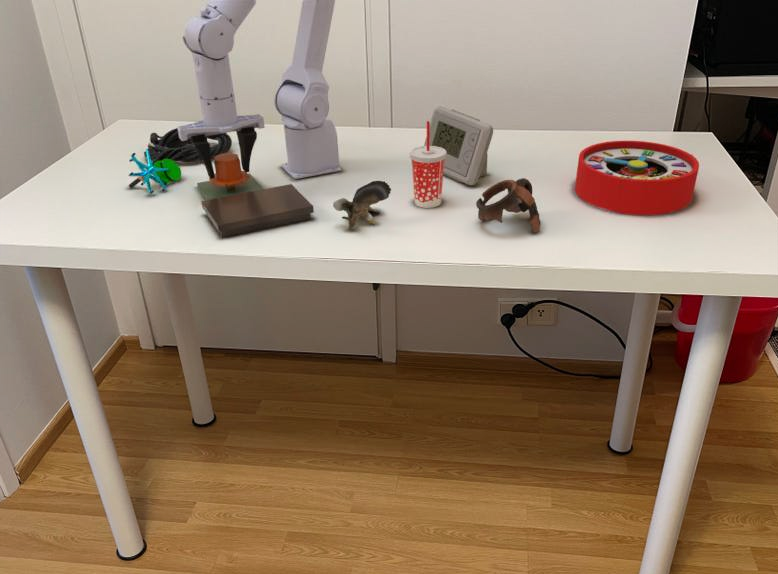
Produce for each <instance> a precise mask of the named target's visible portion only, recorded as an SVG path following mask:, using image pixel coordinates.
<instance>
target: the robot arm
mask: <svg viewBox="0 0 778 574" xmlns="http://www.w3.org/2000/svg"><path fill="white" fill-rule="evenodd" d="M335 3H336V0H302V2H301V8H300V14H299V20H298V25H297V30H296V31H297V32H296V38H295V43H294V49H293V54H292V55H293V56H292V61H291V64H290V66H289V67H288V68H286V69H285V71H284V72H283V73H282V75H281V81H280V83H279V84H278V87H277V88H276V90H275V92H274V95H273V104H274V108H275V110H276V112H277V113H278V114H279V115H281V117H282V118H281V120H282V122H283V130H284V139H285V140H284V141H285V148H286V159H287V162H285V163H282V164H281V168H282V169H283V170H284V171H286V173H287V174H288V175H289V176H290V177H292V178H293V179H294V180H299V179H304V178H308V177H314V176H319V175H326V174H331V173H336V172H340V171H342V168H341V167H340V155H339V154H340V153H339V141H338V138H339V137H338V133H337V129H336V125H335V124H334V122H333V121H332V120H331V119H327V117H328V115H329V112H330V102H329V90H330V86H329V84H328V82H327V80H326V78H325V76H324V74H323V68H324V63H325V57H326V52H327V47H328V41H329V37H330V30H331V26H332V19H333V14H334V9H335ZM256 4H257V0H209V1H208V2H207V4H206V5H205V6H204V5H203V6H202V7H201V8H200V10H199V12H200V15H197V16H194V17H192V18H191V19H189V21H188V22H187V23H186V26H185V29H184V30H185V31H184V35H183V36H182V41H183V44H184V46H185V47H186V48H187V49H188V50H189V51H190V52H191V55H192V60H193V61H192V62H193V66H194V74H195V79H196V84H197V85H196V86H197V90H198V97H199V102H200V109H201V115H202V120H199V121H196V122H191V123H188V124H185V125H179V126H177V127H176V128H178V134H179V138H180V139H181V141H185V140H188V139H190V140H191V142H192V143H193V144H192V146H195V148H196V149H197V151H198V153H199V154H200V156H201V158H202V160H201V161H202V162H203V164H204V168H205V170H206V173H207V176H208V177H210V178H211V179H213V178H215V176H214V174H215V171H214V170H215V169H214V166H213V161H212V157H211V153H210V147H211V143H210V142H209V141H208V138H206V137H205V136H209V135H215V134H221V133H227V134H229V133H232V132H233V133H234V132H235V133H236V136H237V137H236V138H237V140H238V146H239V150H240V151H239V152H240V165H241V170H242V171H245V172H247V173H250V167H251V166H250V165H251V158H252V153H253V149H254V145H255V144H256V141H257V138H258V133H257V131H256V129H259V130H261V129H265V127H266V126H265V120H264V116H263V115H262V114H260V113H259V114H258V113H257V114H248V115H244V114H243V115H238V114H237V113H238V111H237V104H236V97H235V92H234V84H233V78H232V70H231V64H230V57H229V53H231V52H232V51H233V48H234V44H235V34H236V33H237V31H238V30H239V27H241V25H242V24H243V22H244V21H245V20H246V18H247V17H248V15H249V14H250V13H251V12H252V10H253V8H254V7H255V6H256Z"/></svg>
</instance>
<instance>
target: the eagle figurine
mask: <svg viewBox="0 0 778 574" xmlns="http://www.w3.org/2000/svg"><path fill="white" fill-rule="evenodd" d="M391 191H392V188H391V187H390V185H389V184H388V182H386V181H383V180H372V181H370V182H369V183H367V184H364V185H363V186H361V187H359V188H357V189H356V191H355V192H354V193H355V194H354V195H353V197H352V201H349V200H348V199H347V198H345V197H342V198H339V199H337V200H334V202H333V204H332V206H333V208H334V209H335V210H336V211H338V212H342V211H343V212H346V214H347V216H341V219H343V220H347V221H348V231H351V230H352V229H353V227H355V226H356V224H357V223H356V222H357V219H359V218H361V219H363V220H367V221H368V222H370V223H372V225H374V226H375V225H376V222H375V218H374V217H373V216H372V214H371V213H370V212H375V213H381V211H380V210H378V209H374V208H372V207H371V206H372V205H375V204H378V203H379V202H383V201H385V200H387V199H388V198H390V194H392V193H391Z"/></svg>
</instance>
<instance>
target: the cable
mask: <svg viewBox="0 0 778 574" xmlns="http://www.w3.org/2000/svg"><path fill="white" fill-rule="evenodd" d="M205 137H206V138H207V140H208V139H209V140H212V141H217V142H218V143H216V144H215V145H210V153H211V158H215V156H217V155H220V154H225V153H228V152H229V151H230V150H231V149H232V145H233V141H232V137H231V136H230V135H229V133H221V134H215V135H209V136H205ZM146 150H148V151H149V155H150V159H151V162H152V161H154V160H155V159H156V160H157V161H162V160H163V159H170V160H172V161H174V162H181V163H194V162H198V161H203V160H202V158H201V156H200V154H199V153H198V151H197V149H196V148H195V146H194V145H193V143H192V142H191V140H190V139H188V140H185V141H181V139H180V138H179V134H178V128H177V127H176V128H173V129H171V130H169V131H168V132H166V133H165V134H164V135H162V136H160V135H159V134H158V133H156V132H151V133H150V135H149V142H148V144H147V148H146ZM143 154H144V153H143ZM143 157H144V158H147V156H146V154H144V155H143Z"/></svg>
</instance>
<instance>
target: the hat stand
mask: <svg viewBox="0 0 778 574" xmlns="http://www.w3.org/2000/svg"><path fill="white" fill-rule="evenodd" d="M248 174H249V176H250V179H248V180H247V181H246V182H244V183H241V184H239V185H233V186H228V185H227V186H218V185H214V184H212V183H211V182H210V180H206V181H201V182H197V183H196V186H197V189H198V191H200V194H201V195H202V196H203V197H204V200H209V199H215V198H220V197H225V196H231V195H236V194H241V193H246V192H252V191H257V190H262V189H264V188H263V187H262V185H261V184H260V183H259V182H258V181H257V180H256V179H255V177H254V176H252V174H251V173H248Z"/></svg>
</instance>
